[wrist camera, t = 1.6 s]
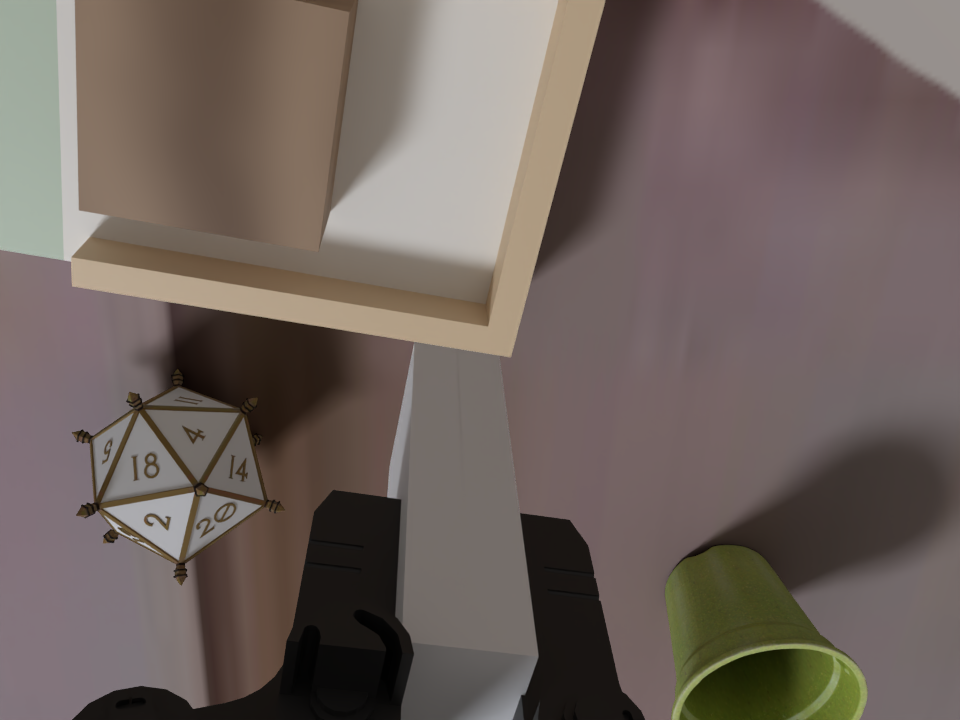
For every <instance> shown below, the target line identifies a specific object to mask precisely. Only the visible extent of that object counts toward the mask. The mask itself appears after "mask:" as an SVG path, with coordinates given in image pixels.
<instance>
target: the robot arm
mask: <svg viewBox="0 0 960 720" xmlns="http://www.w3.org/2000/svg"><path fill="white" fill-rule="evenodd" d="M72 720H645V718H644V716H643V714H642V712H641V710H640V709H639V708H638V707H637V706H636V705H635V704H634V703H633V701H632V700H631V699H630V698H629V697H628V696H627V695H626V694H625V693H623V692H622V690H621V687H620V685H619V681H618V677H617V672H616V668H615V663H614V659H613V654H612V650H611V645H610V641H609V636H608V632H607V628H606V623H605V619H604V614H603V610H602V605H601V601H599V592H598V587H597V583H596V579H595V578H594V570H593V565H592V561H591V556H590V552H589V547H588V545H587V543H586V542H585V541H584V539H583V538H582V537H581V535H580V534H579V532H578V531H577V530H576V528H575V527H574V526H573V524H572V523H571V521H570V520H566V519H559V518H551V517H544V516H537V515H529V514H522V513H520V510H519V502H518V495H517V487H516V480H515V472H514V464H513V457H512V449H511V441H510V434H509V426H508V418H507V411H506V403H505V395H504V388H503V380H502V372H501V365H500V357H499V356H497V355H491V354H485V353H479V352H473V351H467V350H460V349H454V348H448V347H442V346H436V345H430V344H424V343H417V342H414V347H413V352H412V357H411V362H410V367H409V372H408V377H407V382H406V387H405V392H404V397H403V402H402V407H401V412H400V417H399V422H398V427H397V432H396V437H395V442H394V447H393V452H392V457H391V462H390V468H389V481H388V495H387V497H381V496H373V495H366V494H359V493H351V492H344V491H336V490H333V491H332V492H331V493H330V494H329V495H328V497H327V498H326V499H325V500H324V501H323V502H322V503H321V505H320V506H319V507H318V508H317V509H316V510H315V512H314V516H313V522H312V527H311V532H310V538H309V544H308V549H307V554H306V559H305V565H304V570H303V575H302V581H301V586H300V592H299V597H298V602H297V608H296V613H295V619H294V624H293V628H292V630H291V632H290V635H289V637H288V639H287V642H286V649H285V656H284V663H283V666H282V667H281V669H280V670H279V671H278V673H277V674H276V676H275V677H274V678H273V679H272V680H271V681H269V682H268V683H267V684H266V685H265V686H264V687H262V688H261V689H259V690H258V691H256V692H254V693H252V694H250V695H248V696H246V697H244V698H241V699H237V700H234V701H231V702H227V703H223V704H218V705H213V706H207V707H202V708H197V709H192V707H191V706H190V704H189V703H188V702H187V700H185V699H183V698H181V697H179V696H177V695H175V694H174V693H172V692H170V691H168V690H166V689H159V688H151V687H144V686H139V687H133V688H128V689H122V690H116V691H113V692H111V693H109V694H107V695H105V696H103V697H101V698H99V699H97V700H95V701H93V702H91V703H89V704H88V705H87V706H86V707H85V708H84V709H83V710H82V711H81V712H80V713H79V714H78V715H77V716H76V717H74V718H73V719H72Z"/></svg>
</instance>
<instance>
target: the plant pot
mask: <svg viewBox="0 0 960 720" xmlns="http://www.w3.org/2000/svg"><path fill="white" fill-rule="evenodd" d="M665 599H666V606H667V613H668V619H669V626H670V633H671V641H672V648H673V655H674V662H675V670H676V677H677V682H676V688H675V702H674V704H673V708H672V715H671V720H859V719H860V717H861V715H862V714H863V710H864V707H865V705H866V702H867V695H868V690H867V684H866V680H865V677H864V675H863V673H862V671H861V669H860V668H859V667H858V665H857V664H856V663H855V662H854V660H852V659H851V658H850V657H849V656H848V655H847V654H846V653H844V652H842V651H841V650H839V649H837V648H835V647H834V645H833V644H832V643H831V642H829V641H828V640H827V639H826V638H824V637H823V636H822V635H820V633H819V632H818V631H817V629H816V628H815V627H814V625H813V624H812V623H811V621H810V620H809V618H808V617H807V616H806V614H805V613H804V612H803V610H802V609H801V608H800V606H799V605H798V603H797V602H796V601H795V599H794V598H793V597H792V595H791V594H790V593H789V591H788V590H787V588H786V587H785V586H784V584H783V583H782V581H781V580H780V579H779V577H778V576H777V574H776V573H775V572H774V570H773V569H772V568H771V566H770V565H769V564H768V562H767V561H766V560H765V559H764V558H763V557H762V556H761V555H760V554H758V553H757V552H755V551H753V550H751V549H749V548H746V547H742V546H736V545H719V546H714V547H711V548H710V549H708V550H707V551H706V552H704V553H702V554H699V555H697V556H694V557H688V558H686V559H684V560H683V561H682V562H681V563H679V564H678V565H677V566H676V567H675V569H674V570H673V571H672V573H671V575H670V576H669V578H668V581H667V583H666V588H665Z"/></svg>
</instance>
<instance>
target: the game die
mask: <svg viewBox="0 0 960 720" xmlns="http://www.w3.org/2000/svg"><path fill="white" fill-rule="evenodd" d="M171 376H172V379H173V380H172V383H173V384H174V387H172V388H170V389H168V390H166V391H164V392H163V393H161V394H159V395H157V396H155V397H153V398H151V399H149V400H147V401H146V402H144V403H142V399H141V398H140V396H139V394H135V393H132V392H129V396H128V399H127V401H126V402H128V403H129V406H131V407H133V408H134V409H132V410H131V411H129V412H128V413H126V414H125V415H123V416H122V417H120V418H119V419H117V420H116V421H114V422H113V423H112V424H110V425H109V426H107V427H106V428H104V429H103V430H101V431H100V432H98V433H97V434H95V435H94V436H91V435H90V434H89V433H88V432H84V431H83V430H81V431H77V432H72V434H73V435H74V437H75V438H76V440H77V442H79V441H80V442H82V443H89V444H90V454H91V468H92V481H93V494H94V503H93V504H90V503H87V505H81V508H80V510H79V511H78V513H77V514H76V516H81V517H84V518H87V517H89V516H91V515H93V514H95V512H96V511H98V512H99V513H100V514H101V515H102V517H103V518H104V519H105V520H106V521H107V523H108V524H109V525H110V526H111V527H112V529H113V530H110V531H108V532H107V533H106V534H105V535H104V536H103V537H104V540H103V544H104V543H114V540H115V539H118V537H117V536H118V534H119V535H121V536H123V537H125V538H127V539H129V540H131V541H133V542H135V543H137V544H139V545H140V546H142V547H144V548H146V549H148V550H150V551H152V552H154V553H156V554H158V555H160V556H161V557H163V558H165V559H167V560H169V561H171V562H173V563H175V564H176V570H174V572H175V576H174V578H176V580H177V581H178V582H179V584H180V585H182V584H183V582H184V580H185V578H186V577H188V576H187V574H186V571H187V569H185V563H187V562H188V561H190V560H191V559H192V558H194V557H195V556H197V555H198V554H199V553H201V552H202V551H204V550H205V549H206V548H208V547H209V546H211V545H212V544H213V543H215V542H216V541H218V540H219V539H221V538H222V537H223V536H225V535H226V534H227V533H229V532H230V531H232V530H233V529H234V528H236V527H237V526H239V525H240V524H241V523H243V522H244V521H246V520H247V519H248V518H250V517H251V516H253V515H254V514H256V513H257V512H258V511H260V510H261V509H263V508H264V507H266V508H268V509H269V511H270V512H271V511H273V512H274V513H276V512H281V511H285V509H284V508H283V506H282V505H281V504H280V501H279V502H276V501H275V500H273V501H269V500H268V499H267V495H266V491H265V487H264V483H263V479H262V475H261V471H260V467H259V463H258V459H257V455H256V451H255V447H254V446H256V444H258V445H260V441H261V439H262V437H263V436H260V435H258V434H257V433H256V434H255V435H252V434H251V430H250V426H249V422H248V418H247V414H246V413H247V412H251V411H252V410H253V409H254V408H256V407H257V406H256V404H257V400H258V397H257V398H251V399H248V398H247V399H246V400H247V401H246V402H243V406H242V407H241V408H238V407H235V406H232V405H230V404H227V403H224V402H222V401H219V400H216V399H214V398H211V397H208V396H205V395H203V394H200V393H197V392H195V391H192V390H189V389H187V388H184V387H182V383H183V382H184V380H183V377H184V375H182V374H181V373H180V371H179V370H178V369H177V370H176V371H175V373H174V374H173V375H171Z"/></svg>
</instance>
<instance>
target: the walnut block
mask: <svg viewBox="0 0 960 720" xmlns="http://www.w3.org/2000/svg"><path fill="white" fill-rule="evenodd" d="M357 7H358V0H75V42H76V93H77V144H78V196H79V211H85V212H91V213H97V214H102V215H108V216H114V217H119V218H125V219H131V220H137V221H142V222H148V223H154V224H160V225H165V226H171V227H177V228H183V229H188V230H194V231H200V232H205V233H211V234H217V235H223V236H228V237H234V238H240V239H246V240H251V241H257V242H263V243H269V244H274V245H280V246H286V247H292V248H297V249H303V250H309V251H314V252H319V249H320V245H321V242H322V238H323V235H324V232H325V228H326V225H327V221H328V218H329V214H330V210H331V203H332V195H333V188H334V180H335V172H336V165H337V157H338V150H339V142H340V135H341V127H342V120H343V112H344V105H345V97H346V90H347V82H348V74H349V67H350V59H351V52H352V44H353V37H354V29H355V22H356V14H357Z"/></svg>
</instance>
